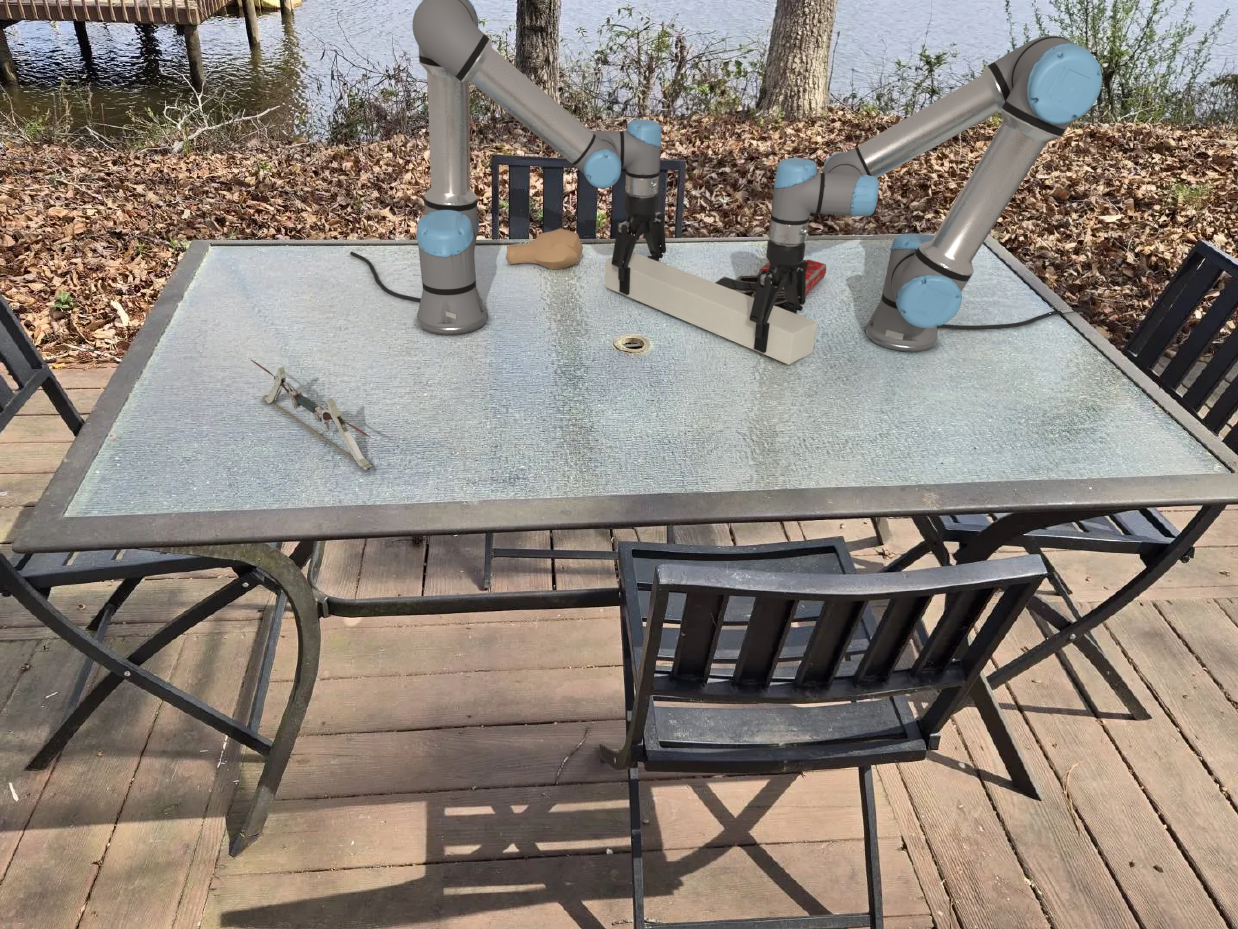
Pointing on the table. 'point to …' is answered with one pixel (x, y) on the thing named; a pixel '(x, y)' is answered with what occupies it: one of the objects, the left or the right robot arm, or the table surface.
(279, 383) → the bow
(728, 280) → the gun
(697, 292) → the wide beam
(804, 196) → the right robot arm
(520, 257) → the squash
